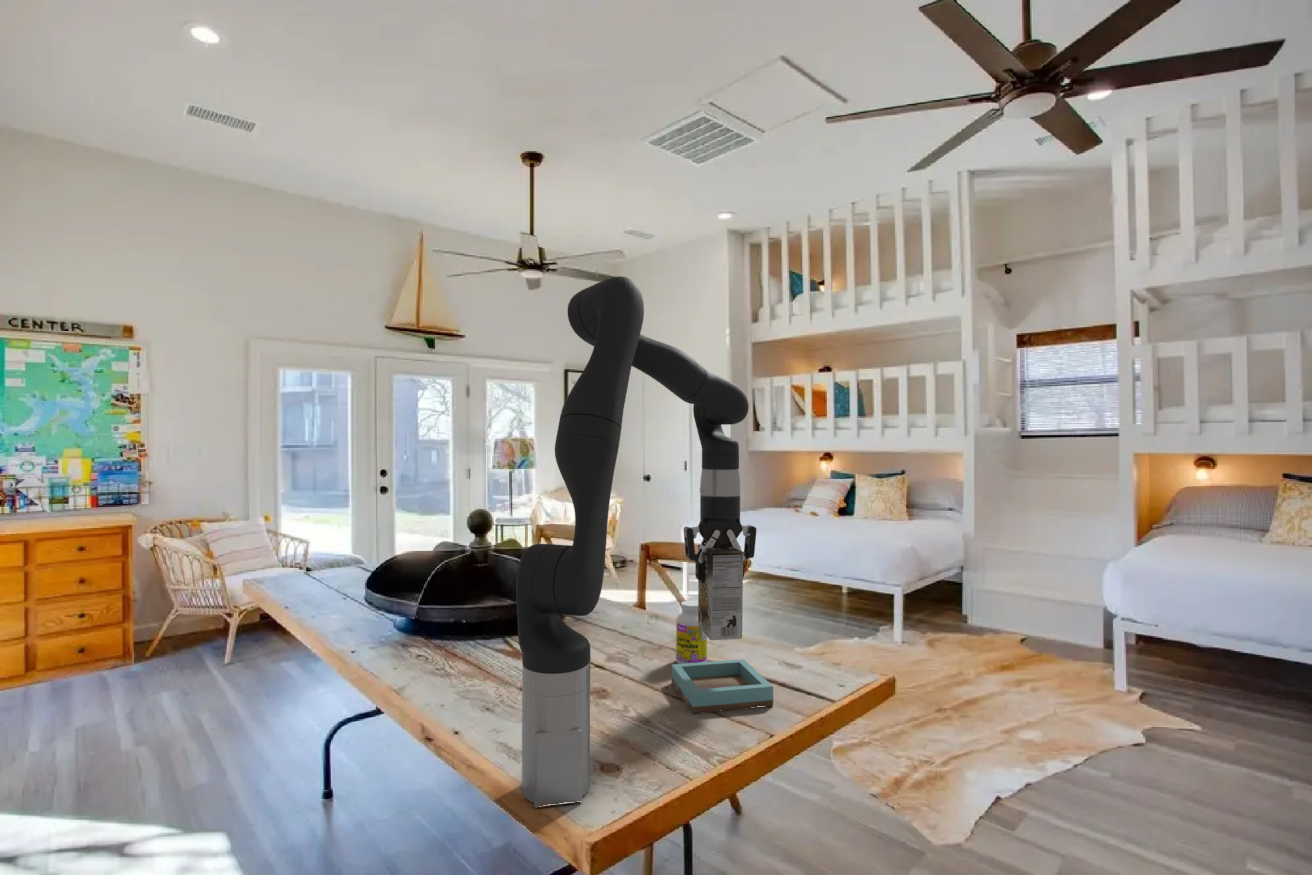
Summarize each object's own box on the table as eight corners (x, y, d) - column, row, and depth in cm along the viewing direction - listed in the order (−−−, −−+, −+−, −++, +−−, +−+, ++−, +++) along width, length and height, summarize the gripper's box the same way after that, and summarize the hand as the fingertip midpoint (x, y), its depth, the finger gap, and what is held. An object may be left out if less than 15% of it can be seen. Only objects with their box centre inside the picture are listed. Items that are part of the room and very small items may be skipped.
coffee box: (696, 626, 126) (697, 543, 127) (728, 625, 128) (728, 543, 128) (709, 640, 117) (709, 551, 118) (743, 639, 119) (743, 550, 119)
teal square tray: (773, 706, 117) (773, 686, 117) (692, 713, 114) (692, 693, 114) (743, 676, 131) (743, 659, 131) (671, 682, 128) (671, 664, 128)
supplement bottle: (670, 664, 139) (670, 604, 139) (684, 655, 144) (684, 597, 144) (699, 670, 135) (699, 608, 136) (711, 660, 141) (712, 601, 141)
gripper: (688, 495, 117) (688, 587, 117) (763, 494, 121) (763, 584, 120) (678, 492, 125) (677, 579, 125) (749, 491, 128) (748, 576, 128)
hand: (719, 581), depth 123 cm, fingers closed on coffee box, 6 cm apart
